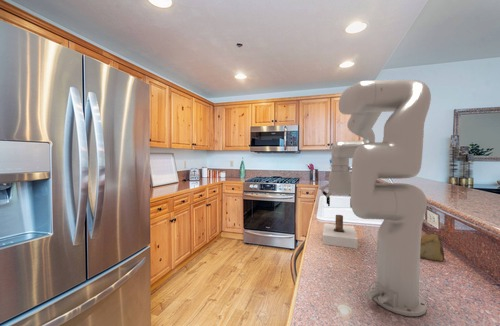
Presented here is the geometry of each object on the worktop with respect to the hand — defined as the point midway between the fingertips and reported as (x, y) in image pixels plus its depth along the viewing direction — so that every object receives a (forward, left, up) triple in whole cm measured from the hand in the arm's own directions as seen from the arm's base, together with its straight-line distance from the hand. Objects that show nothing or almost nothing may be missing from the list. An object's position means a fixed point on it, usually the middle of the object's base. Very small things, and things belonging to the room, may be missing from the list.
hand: (339, 206), depth 101 cm
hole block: (0, 0, -16) cm, 16 cm away
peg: (0, 0, -16) cm, 16 cm away
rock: (+17, -27, -16) cm, 35 cm away
